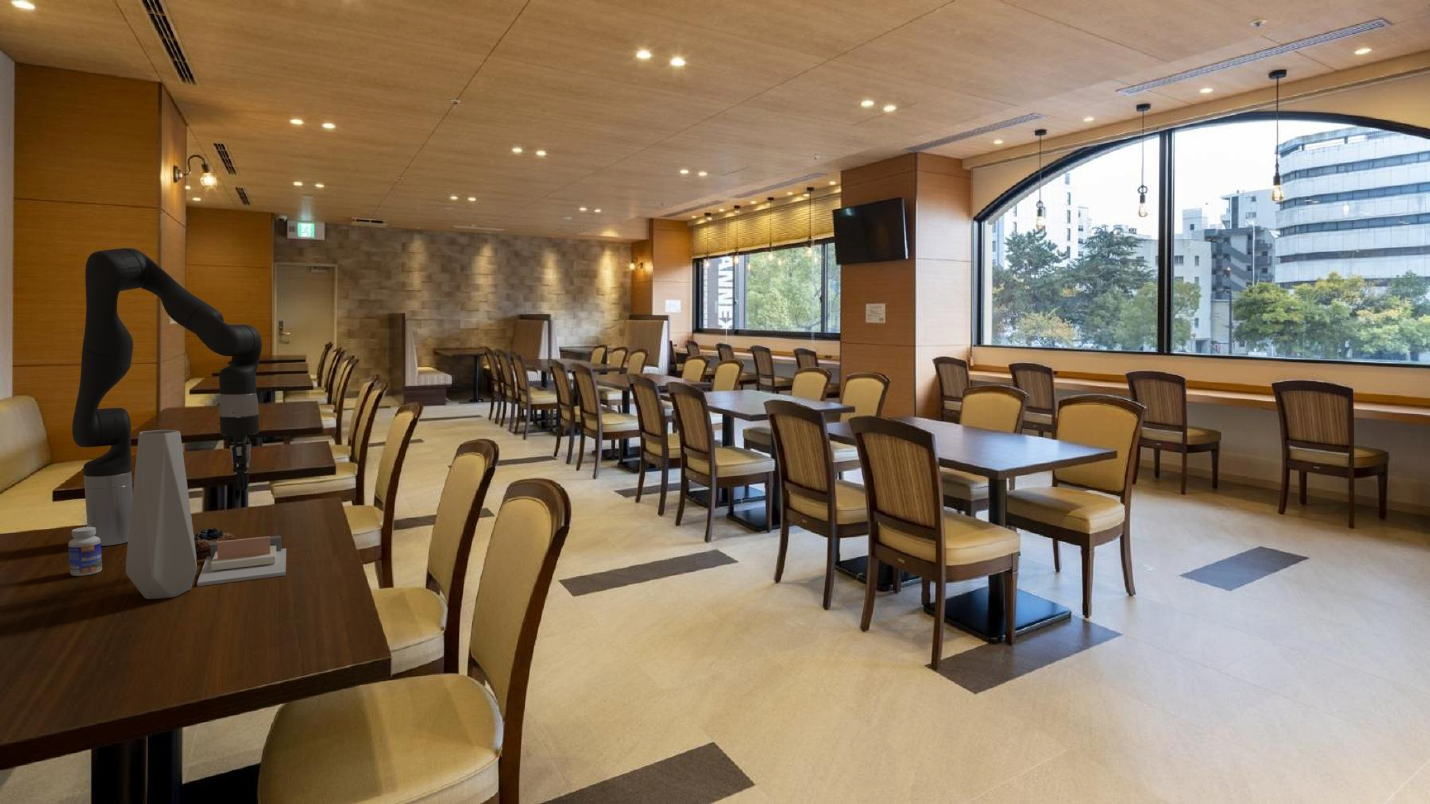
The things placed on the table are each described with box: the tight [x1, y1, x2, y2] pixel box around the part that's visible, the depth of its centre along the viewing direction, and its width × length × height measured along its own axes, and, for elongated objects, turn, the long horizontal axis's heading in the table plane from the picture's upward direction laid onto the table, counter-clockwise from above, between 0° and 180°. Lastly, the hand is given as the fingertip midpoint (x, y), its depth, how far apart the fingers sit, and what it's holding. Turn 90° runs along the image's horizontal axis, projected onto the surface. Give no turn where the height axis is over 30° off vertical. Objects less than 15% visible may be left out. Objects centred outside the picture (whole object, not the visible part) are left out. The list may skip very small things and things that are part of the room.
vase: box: [125, 429, 198, 600], centre depth 153 cm, size 12×12×33 cm
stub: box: [211, 535, 276, 571], centre depth 170 cm, size 5×12×5 cm, turn 119°
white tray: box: [196, 535, 287, 587], centre depth 171 cm, size 20×16×4 cm
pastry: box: [194, 527, 239, 561], centre depth 182 cm, size 11×12×6 cm
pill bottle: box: [68, 526, 103, 577], centre depth 166 cm, size 5×5×10 cm
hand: (242, 487), depth 174 cm, fingers open, 5 cm apart
